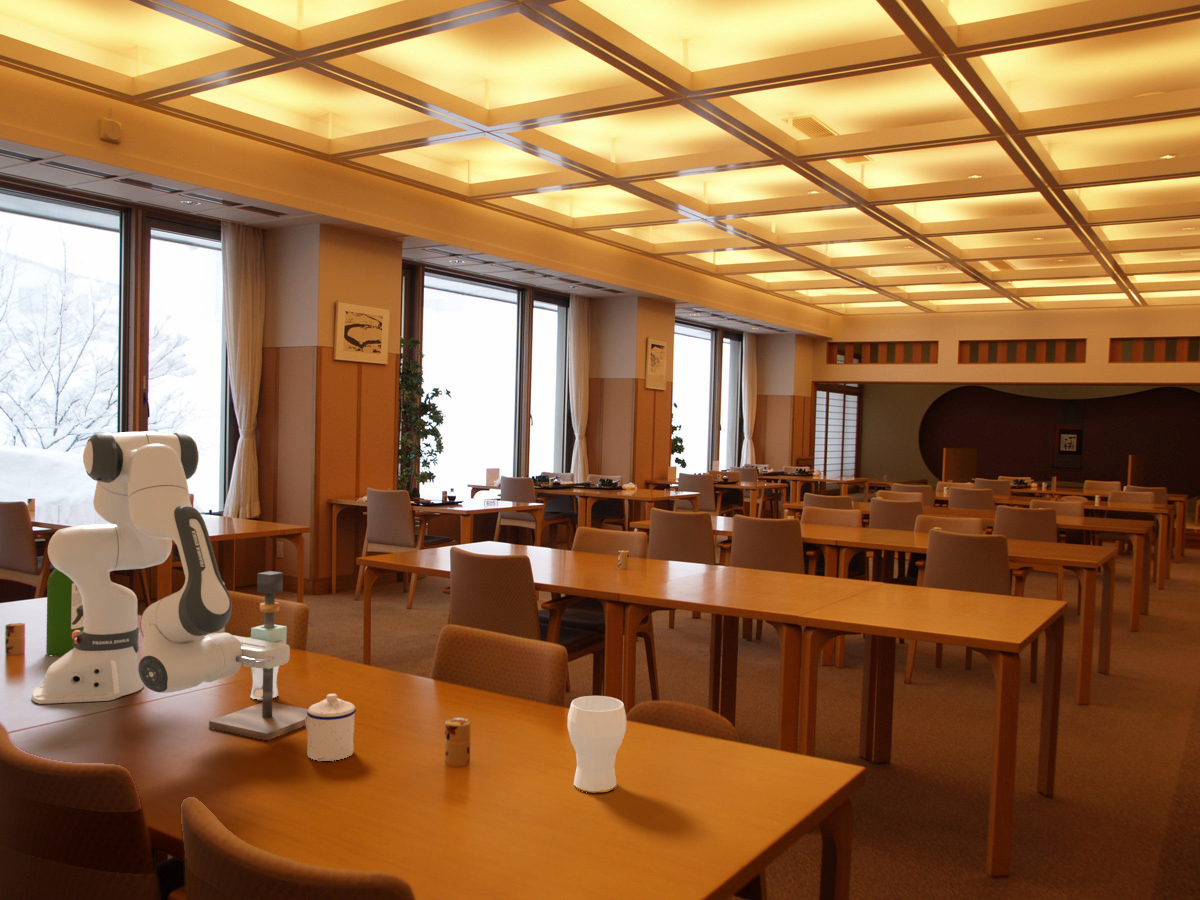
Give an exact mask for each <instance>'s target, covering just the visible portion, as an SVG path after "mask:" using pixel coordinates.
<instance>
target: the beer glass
mask: <svg viewBox="0 0 1200 900" xmlns="http://www.w3.org/2000/svg"><path fill="white" fill-rule="evenodd" d="M250 669H251V670H250V672H251V676H252V685H251V686H252V687H251V693H250V699H251V698H252V700H254V699H257V700H256V701H263V668H254V667H250ZM279 669H280V666H277V667H274V668H273V698H274V699H276V698H278V697H279V689H278V673H279ZM277 696H278V697H277ZM275 697H276V698H275Z"/></svg>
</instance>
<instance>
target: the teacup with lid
mask: <svg viewBox="0 0 1200 900" xmlns="http://www.w3.org/2000/svg"><path fill="white" fill-rule="evenodd" d="M356 712H357V709H356V706H355V705H354V703H351V702H349V701H346V700H343V699H341V698H339V697H338V695H337V694H336V693H328V694H327V695H326V698H325V699H323V700H321V701H319V702H317V703H314V704H311V705H310V706H309V707H308V711H307V715H306V718H305V725H306V726H305V729H306V732H307V744H306V745H307V746H306V747H307V749H306V751H307V752H306V753H307V754H306V755H307V757H308V758H309V759H310V758H311V759H310V760H312V759H313V760H312V761H315V760H317V761H316V762H321V761H332V762H337V761H336V760H339V761H341V760H340V759H343V760H345V759H344V758H346V759H348V758H349V756H350V757H351V756H352V755H353V753H354V750H355V749H354V747H355V745H354V744H355V713H356ZM347 757H348V758H347ZM334 760H335V761H334Z"/></svg>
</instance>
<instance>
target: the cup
mask: <svg viewBox="0 0 1200 900" xmlns="http://www.w3.org/2000/svg"><path fill="white" fill-rule="evenodd" d="M569 706H570V707H569V709H568V714H567V731H568V735H569V739H570V743H571V744H572V747H573V748H574V751H575V757H576V769H575V774H574V779H573V786H574V785H575V786H576V787H578V788H581V789H583V790H588V791H601V790H607V789H610V788H613V787H614V786H615V785H616V786H617V777H616V771H615V770H616V769H615V768H616V767H615V764H616V758H617V752H618V751H619V749H620V747H621V745H622V743H623V740H624V737H625V734H626V731H627V714H626V710H625V705H624V702H623V701H621V700H620V699H618V698H615V697H612V696H606V695H605V696H604V695H588V696H587V695H586V696H579V697H577V698H574V699H572V701H571V703H570V705H569Z"/></svg>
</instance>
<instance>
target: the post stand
mask: <svg viewBox="0 0 1200 900" xmlns="http://www.w3.org/2000/svg"><path fill="white" fill-rule="evenodd" d="M256 575H257V577H256V579H257V580H256V582H257V583H256V592H257V593H261V594H264V602H260V603H259V612H260V613H264V615H263V617H264V618H263V622H264V624H263V625H264V628H266V629H271V628H274V624H275V613H277V612H279V611H280V602H277V601H275V600H276V597H275V596H276V594H278V593H283V591H284V590H283V588H284V585H283V584H284V572H280V571H273V570H272V571H271V570H269V571H264V572H258V573H257V574H256ZM261 701H262V702H260V703H257V704H254V705H251V706H248V707H245V708H243V709H239V710H237V711H233V712H231V713H228V714H225V715H222V716H220V717H216V718H214V719H211V720H208V728H209V729H211V728H214V729H213V730H215V729H218V730H217V731H220V730H222V731H221V732H224V731H226V732H225V733H229V732H231V733H230V734H233V733H236V734H235V735H238V734H240V735H239V736H242V735H245V736H244V737H246V736H250V737H249V738H251V737H255V738H259V739H258V740H260V739H264V740H269V741H271V740H270V739H272V738H274V739H276V738H275V737H277V736H279V737H281V736H280V735H282V736H284V735H286V733H287V734H289V733H292V732H294V731H296V730H295V729H297V730H299V729H301V727H302V728H304V727H306V726H305V718H306V715H307V711H308V709H307V708H303V707H297V706H293V705H287V704H284V703H279V702H273V668H270V669H265V668H263V700H261ZM303 726H304V727H303ZM298 728H299V729H298ZM293 730H294V731H293ZM291 731H292V732H291ZM288 732H289V733H288ZM283 734H284V735H283ZM255 738H254V739H255ZM277 738H278V737H277ZM264 740H263V741H264ZM272 740H273V739H272Z"/></svg>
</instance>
